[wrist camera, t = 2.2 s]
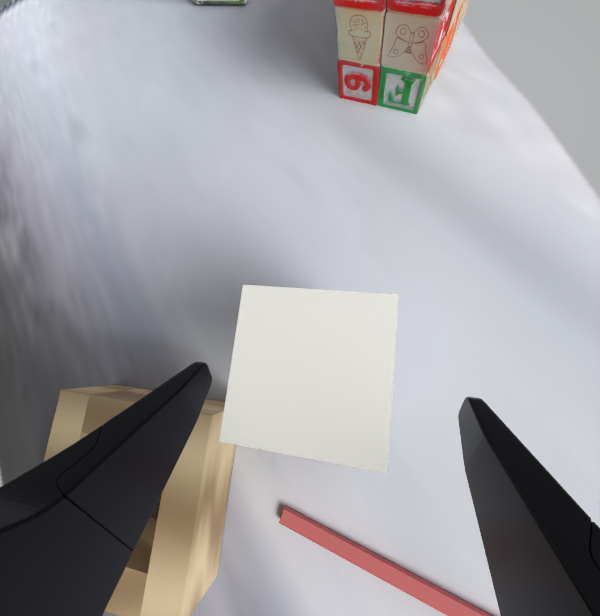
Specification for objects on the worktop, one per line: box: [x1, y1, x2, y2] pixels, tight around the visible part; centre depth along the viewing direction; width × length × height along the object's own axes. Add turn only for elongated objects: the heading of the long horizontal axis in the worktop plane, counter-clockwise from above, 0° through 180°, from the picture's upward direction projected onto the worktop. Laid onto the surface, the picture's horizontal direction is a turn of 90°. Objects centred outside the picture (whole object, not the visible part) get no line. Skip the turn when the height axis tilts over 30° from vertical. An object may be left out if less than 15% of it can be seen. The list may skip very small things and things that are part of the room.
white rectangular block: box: [219, 285, 398, 474], centre depth 12 cm, size 4×4×12 cm
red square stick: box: [279, 506, 492, 616], centre depth 15 cm, size 14×1×1 cm, turn 69°
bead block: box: [43, 384, 235, 616], centre depth 17 cm, size 10×10×4 cm
